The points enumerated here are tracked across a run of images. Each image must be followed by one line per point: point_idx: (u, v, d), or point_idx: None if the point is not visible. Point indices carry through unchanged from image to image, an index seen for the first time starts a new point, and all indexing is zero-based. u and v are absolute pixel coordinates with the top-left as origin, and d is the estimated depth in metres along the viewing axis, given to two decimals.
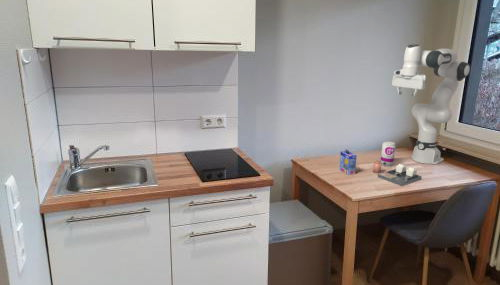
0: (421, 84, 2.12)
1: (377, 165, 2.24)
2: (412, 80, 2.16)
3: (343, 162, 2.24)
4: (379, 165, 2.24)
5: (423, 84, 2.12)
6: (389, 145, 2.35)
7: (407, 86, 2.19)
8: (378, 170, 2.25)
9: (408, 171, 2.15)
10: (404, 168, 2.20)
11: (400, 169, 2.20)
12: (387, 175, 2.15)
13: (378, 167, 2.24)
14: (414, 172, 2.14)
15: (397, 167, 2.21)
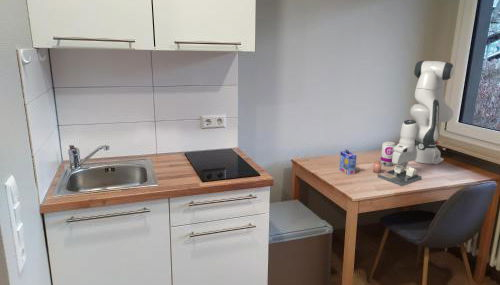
0: (416, 155, 2.25)
1: (377, 165, 2.24)
2: (410, 154, 2.21)
3: (343, 162, 2.24)
4: (379, 165, 2.24)
5: None
6: (389, 145, 2.35)
7: (408, 160, 2.21)
8: (378, 170, 2.25)
9: (408, 171, 2.15)
10: (403, 168, 2.19)
11: (399, 169, 2.19)
12: (387, 175, 2.15)
13: (378, 167, 2.24)
14: (414, 172, 2.14)
15: (396, 167, 2.21)
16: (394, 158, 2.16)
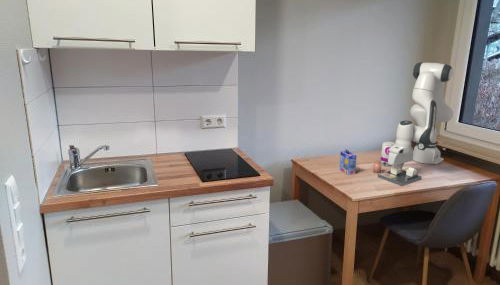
0: (412, 156, 2.22)
1: (377, 165, 2.24)
2: (406, 155, 2.19)
3: (343, 162, 2.24)
4: (379, 165, 2.24)
5: None
6: (389, 145, 2.35)
7: (404, 162, 2.19)
8: (378, 170, 2.25)
9: (408, 171, 2.15)
10: (399, 169, 2.17)
11: (395, 170, 2.17)
12: (387, 175, 2.15)
13: (378, 167, 2.24)
14: (414, 172, 2.14)
15: (392, 168, 2.19)
16: (390, 159, 2.14)
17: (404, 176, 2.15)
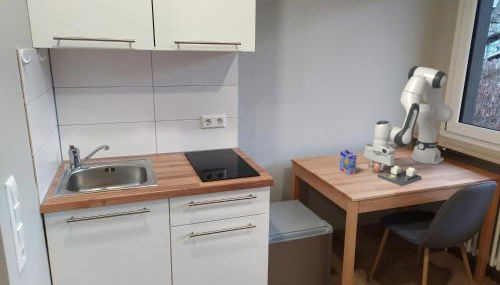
0: None
1: (377, 165, 2.24)
2: None
3: (343, 162, 2.24)
4: (379, 165, 2.24)
5: None
6: (389, 145, 2.35)
7: None
8: (378, 170, 2.25)
9: (408, 171, 2.15)
10: (399, 169, 2.17)
11: (395, 170, 2.17)
12: (387, 175, 2.15)
13: (378, 167, 2.24)
14: (414, 172, 2.14)
15: (392, 168, 2.19)
16: (392, 160, 2.16)
17: (404, 176, 2.15)
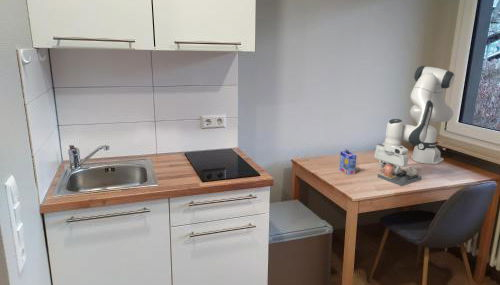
0: None
1: (389, 168, 2.12)
2: None
3: (343, 162, 2.24)
4: (391, 168, 2.12)
5: None
6: None
7: None
8: (390, 173, 2.13)
9: (408, 171, 2.15)
10: (399, 169, 2.17)
11: None
12: None
13: (390, 170, 2.12)
14: (414, 172, 2.14)
15: None
16: (405, 161, 2.04)
17: (404, 176, 2.15)
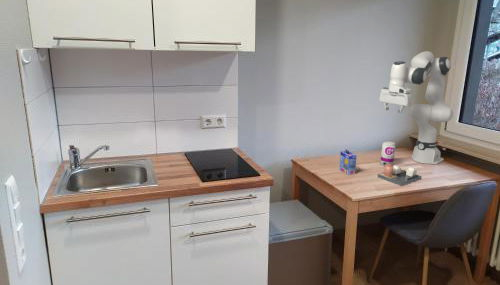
0: None
1: (389, 168, 2.12)
2: None
3: (343, 162, 2.24)
4: (391, 168, 2.12)
5: None
6: (389, 145, 2.35)
7: None
8: (390, 173, 2.13)
9: (408, 171, 2.15)
10: (399, 169, 2.17)
11: (395, 170, 2.17)
12: None
13: (390, 170, 2.12)
14: (414, 172, 2.14)
15: None
16: (409, 100, 2.15)
17: (404, 176, 2.15)
